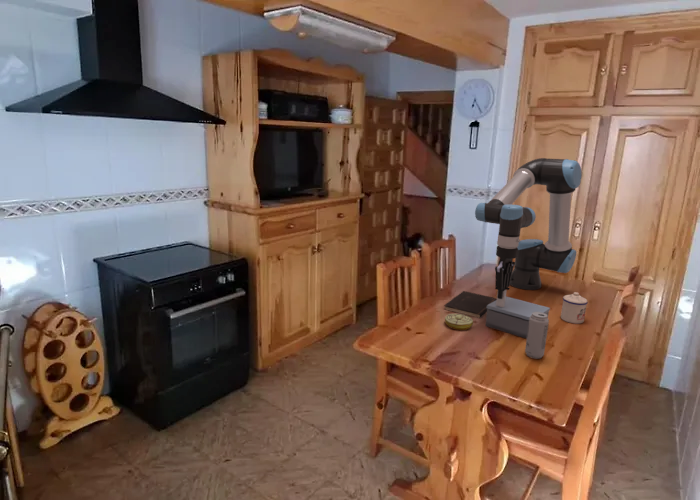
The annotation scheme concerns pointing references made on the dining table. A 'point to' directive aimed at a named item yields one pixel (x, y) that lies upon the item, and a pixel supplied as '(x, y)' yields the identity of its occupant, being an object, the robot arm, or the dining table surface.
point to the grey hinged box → (507, 323)
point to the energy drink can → (536, 335)
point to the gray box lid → (518, 308)
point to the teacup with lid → (573, 308)
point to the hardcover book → (470, 304)
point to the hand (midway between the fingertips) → (500, 305)
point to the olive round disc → (458, 321)
